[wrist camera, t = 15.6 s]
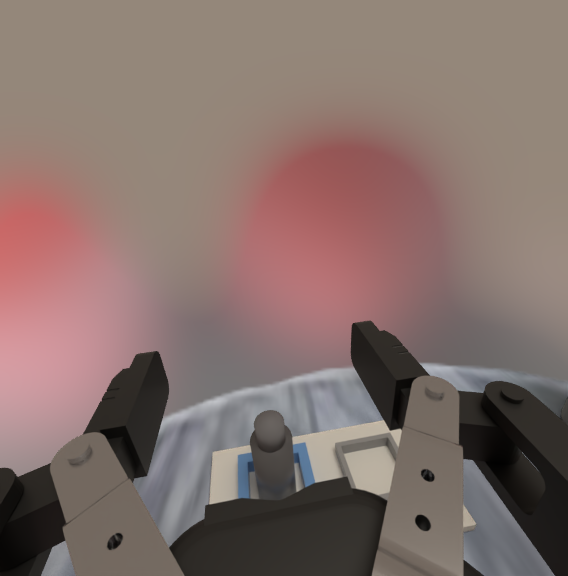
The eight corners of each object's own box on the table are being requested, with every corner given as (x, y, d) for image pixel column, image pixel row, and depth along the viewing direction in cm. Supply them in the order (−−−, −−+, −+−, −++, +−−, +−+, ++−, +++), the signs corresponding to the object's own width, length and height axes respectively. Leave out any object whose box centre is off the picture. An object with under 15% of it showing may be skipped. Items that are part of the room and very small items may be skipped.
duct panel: (404, 421, 44) (407, 406, 42) (474, 529, 31) (480, 513, 30) (214, 456, 40) (210, 442, 39) (205, 593, 28) (199, 578, 27)
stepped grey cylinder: (272, 469, 37) (263, 399, 32) (303, 486, 35) (298, 414, 30) (251, 502, 34) (238, 430, 29) (284, 523, 32) (275, 449, 27)
